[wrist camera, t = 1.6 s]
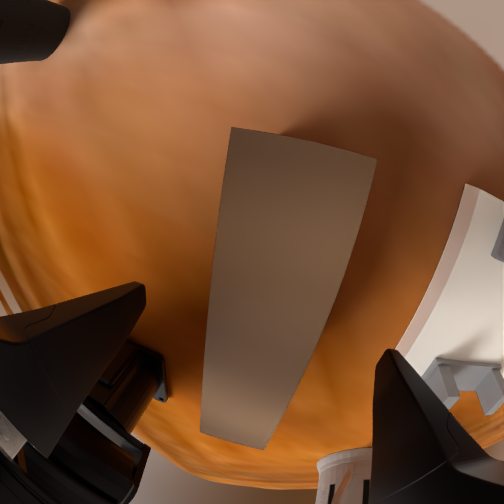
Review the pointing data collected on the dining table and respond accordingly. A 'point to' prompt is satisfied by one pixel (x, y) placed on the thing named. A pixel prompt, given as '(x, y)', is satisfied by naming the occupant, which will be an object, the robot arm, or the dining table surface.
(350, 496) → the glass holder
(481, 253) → the side panel
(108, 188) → the dining table surface
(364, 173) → the door
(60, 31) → the drinking cup
